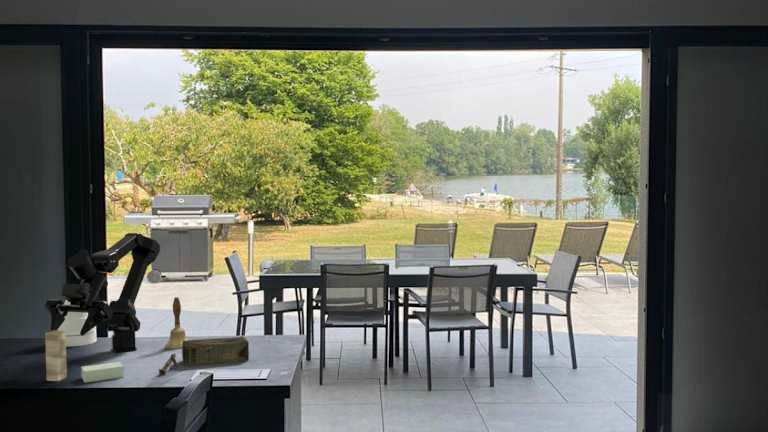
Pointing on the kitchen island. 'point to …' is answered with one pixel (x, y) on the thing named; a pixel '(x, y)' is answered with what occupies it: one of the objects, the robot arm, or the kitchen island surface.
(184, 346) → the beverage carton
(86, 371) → the pale green block
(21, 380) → the kitchen island surface
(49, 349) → the beech post
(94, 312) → the robot arm
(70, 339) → the honey pot
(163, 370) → the wooden post with brackets
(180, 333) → the hand bell
